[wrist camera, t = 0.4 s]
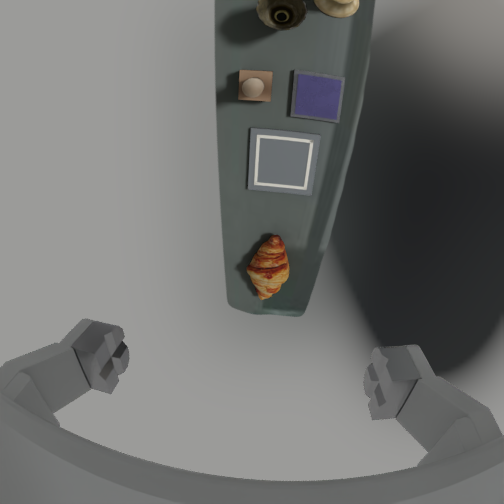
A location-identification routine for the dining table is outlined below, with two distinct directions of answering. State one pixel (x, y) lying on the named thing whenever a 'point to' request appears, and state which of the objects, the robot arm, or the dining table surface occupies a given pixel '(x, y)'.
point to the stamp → (255, 85)
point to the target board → (282, 160)
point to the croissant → (269, 267)
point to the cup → (275, 3)
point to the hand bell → (338, 7)
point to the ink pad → (317, 96)
